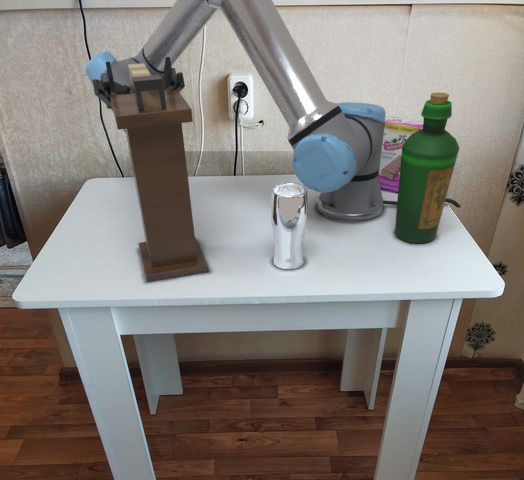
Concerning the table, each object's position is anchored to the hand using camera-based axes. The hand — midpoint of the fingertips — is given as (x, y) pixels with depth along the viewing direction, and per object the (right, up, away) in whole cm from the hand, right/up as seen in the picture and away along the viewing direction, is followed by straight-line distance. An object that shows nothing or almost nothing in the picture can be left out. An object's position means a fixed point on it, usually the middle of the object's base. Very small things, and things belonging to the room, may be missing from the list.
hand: (139, 67), depth 91 cm
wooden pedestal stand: (+3, -31, +15) cm, 35 cm away
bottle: (+55, -25, +21) cm, 64 cm away
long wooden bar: (+1, -5, 0) cm, 5 cm away
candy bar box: (+55, -9, +41) cm, 69 cm away
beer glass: (+27, -32, +13) cm, 44 cm away
